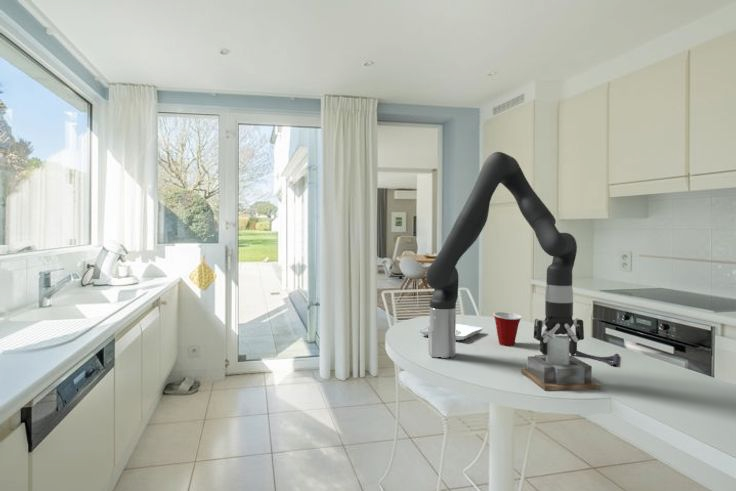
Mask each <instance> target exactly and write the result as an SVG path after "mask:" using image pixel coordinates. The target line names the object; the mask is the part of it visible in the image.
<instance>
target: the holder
mask: <svg viewBox="0 0 736 491" xmlns="http://www.w3.org/2000/svg"><path fill="white" fill-rule="evenodd" d="M526 366H527V368H522V367H521V368H520V373H521V374H522V375H523V376H525V377H527V378H528V379H529V380H530V381H531V382H533V383H534V384H535V385H537V386H538V387H540V388H541V389H542V390H543V391H572V390H573V391H574V390H575V391H577V390H601V384H600V383H598V382H596V381H594V380H592V378H593V376H592V375H593V374H592V370H593V369H592V365H590V364H588V363H586V362H585V361H582V360H581V359H579V358H578V357H576V356H571V355H569V365H555V366H552V365H550V364H549V363H547V362H546V355H543V354H534V356H533V355H531V356H529V355H528V356H527V364H526Z"/></svg>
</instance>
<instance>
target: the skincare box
mask: <svg viewBox="0 0 736 491" xmlns="http://www.w3.org/2000/svg"><path fill="white" fill-rule="evenodd" d="M569 341H570V338H569V336H567V335H563V334H558V335H555V334H553V336H552V337H550V338H549V339H548V341H547V355H546V362H547V363H549V364H550V365H552V366H555V365H569V356H570V353H569Z"/></svg>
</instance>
